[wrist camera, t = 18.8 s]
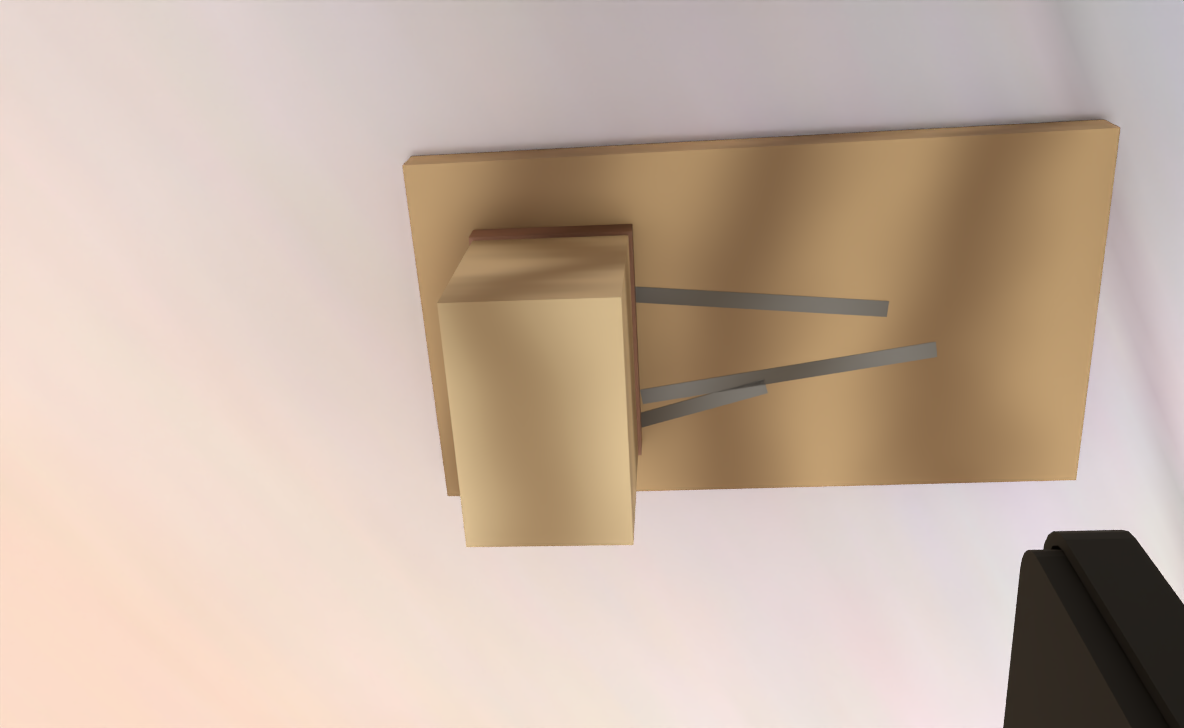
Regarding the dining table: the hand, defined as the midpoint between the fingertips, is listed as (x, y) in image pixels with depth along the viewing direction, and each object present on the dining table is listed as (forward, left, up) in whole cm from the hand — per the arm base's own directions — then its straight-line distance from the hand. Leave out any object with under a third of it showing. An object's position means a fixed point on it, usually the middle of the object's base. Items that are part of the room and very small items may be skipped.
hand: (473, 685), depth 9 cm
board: (-4, +6, -24) cm, 25 cm away
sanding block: (+2, +6, -23) cm, 24 cm away
